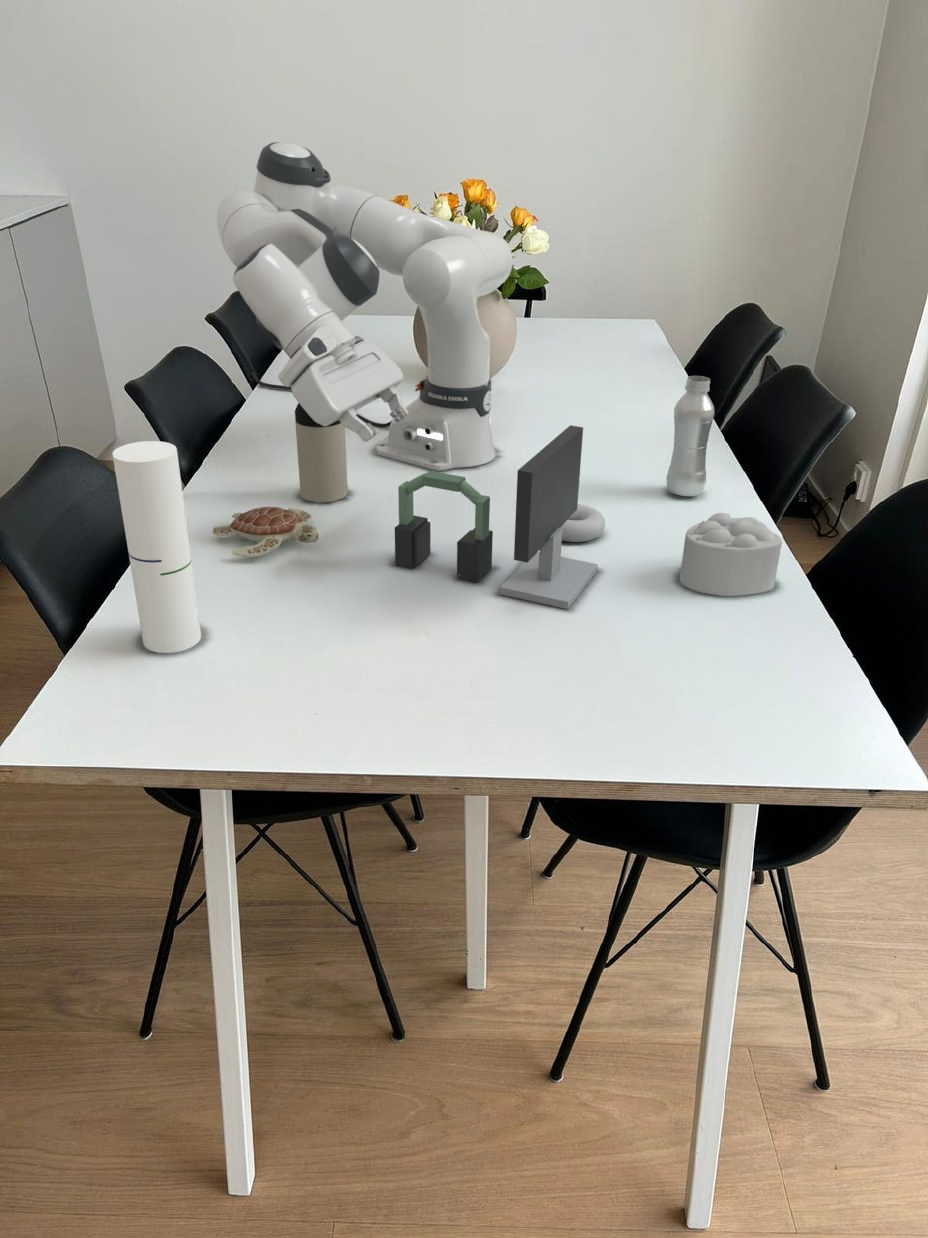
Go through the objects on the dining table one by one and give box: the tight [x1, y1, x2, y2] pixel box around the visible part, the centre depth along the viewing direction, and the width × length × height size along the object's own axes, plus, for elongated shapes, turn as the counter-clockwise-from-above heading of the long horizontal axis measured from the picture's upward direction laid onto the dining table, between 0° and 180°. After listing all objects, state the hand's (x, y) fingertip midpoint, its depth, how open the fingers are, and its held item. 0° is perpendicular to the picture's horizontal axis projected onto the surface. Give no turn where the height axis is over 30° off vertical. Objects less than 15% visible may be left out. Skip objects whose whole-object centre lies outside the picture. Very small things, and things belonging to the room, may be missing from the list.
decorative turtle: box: [211, 506, 320, 558], centre depth 155 cm, size 18×17×5 cm
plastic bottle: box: [665, 375, 715, 497], centre depth 170 cm, size 6×7×20 cm
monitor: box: [499, 424, 599, 610], centre depth 139 cm, size 10×20×20 cm, turn 156°
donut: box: [560, 503, 606, 543], centre depth 159 cm, size 10×4×10 cm
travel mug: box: [294, 402, 349, 504], centre depth 167 cm, size 8×8×18 cm
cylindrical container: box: [111, 440, 202, 654], centre depth 123 cm, size 7×7×25 cm
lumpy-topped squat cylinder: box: [679, 512, 783, 597], centre depth 144 cm, size 10×13×9 cm
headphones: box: [394, 470, 494, 584], centre depth 145 cm, size 13×5×14 cm, turn 66°
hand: (388, 428), depth 142 cm, fingers open, 8 cm apart
